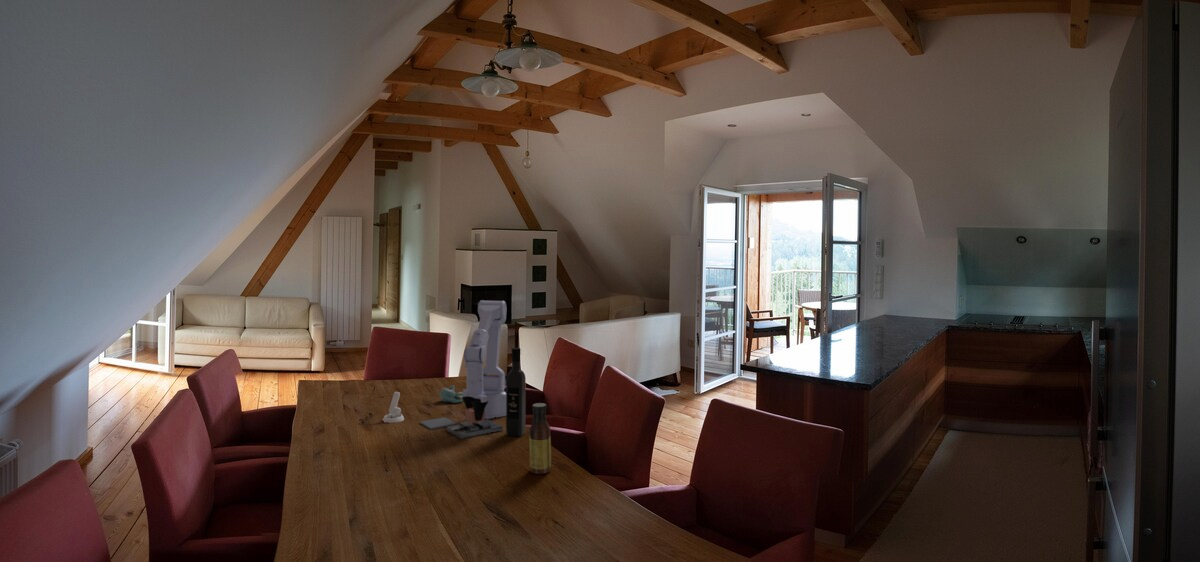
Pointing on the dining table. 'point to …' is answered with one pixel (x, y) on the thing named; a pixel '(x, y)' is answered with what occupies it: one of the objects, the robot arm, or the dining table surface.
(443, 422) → the mat
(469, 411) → the collar block
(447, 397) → the stuffed animal
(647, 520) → the dining table surface
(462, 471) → the dining table surface
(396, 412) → the hook
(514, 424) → the wine bottle
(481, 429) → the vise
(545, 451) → the sauce bottle
